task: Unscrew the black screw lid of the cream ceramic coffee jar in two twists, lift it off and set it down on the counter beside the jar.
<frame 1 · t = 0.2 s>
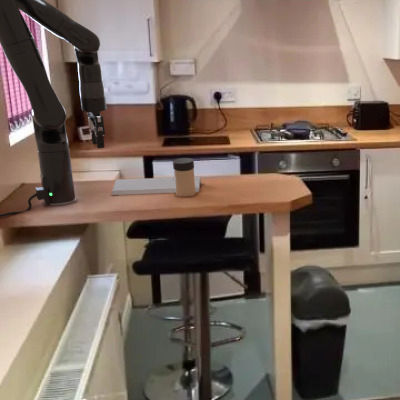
hand: (98, 145, 195), 17 cm above the table, tool pointing down, fingers open, 8 cm apart
coffee jar: (185, 194, 201), on the table, touching crown molding
crown molding: (158, 190, 209), on the table, touching coffee jar
jar lid: (183, 161, 198), point 12 cm above the table, screwed on, not yet turned
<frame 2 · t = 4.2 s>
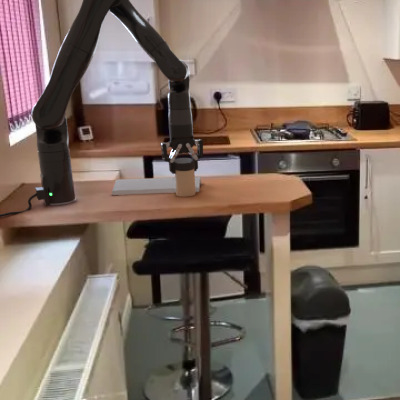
hand: (184, 172, 199), 8 cm above the table, tool pointing down, fingers closed on jar lid, 6 cm apart
jar lid: (184, 161, 198), point 12 cm above the table, screwed on, not yet turned, touching gripper
everything else where it was.
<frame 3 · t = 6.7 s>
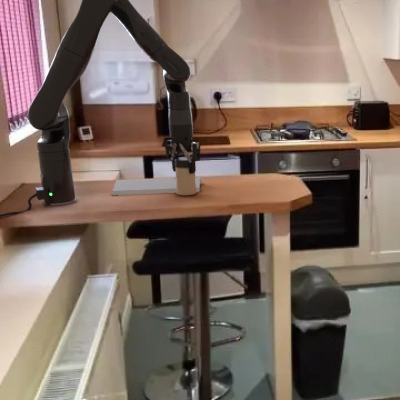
hand: (184, 172, 199), 8 cm above the table, tool pointing down, fingers closed on jar lid, 6 cm apart
coffee jar: (186, 193, 201), point 1 cm above the table, touching crown molding, gripper
jar lid: (184, 159, 199), point 12 cm above the table, turned 119° so far, risen 0.1 cm, still on its thread, touching gripper
everything else where it was.
when the fingers open (8 cm above the table, at t = 7.1 s): jar lid moves 1 cm, point 12 cm above the table.
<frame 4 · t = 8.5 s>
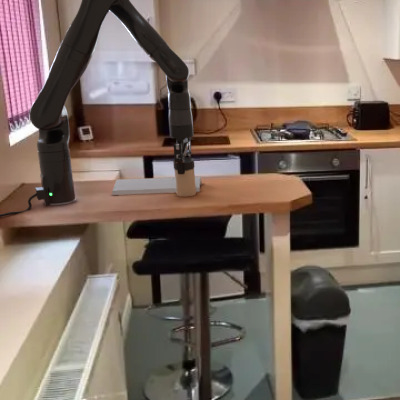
hand: (184, 171, 199), 8 cm above the table, tool pointing down, fingers open, 8 cm apart
coffee jar: (186, 193, 202), on the table, touching crown molding
jar lid: (183, 161, 198), point 12 cm above the table, turned 120° so far, risen 0.1 cm, still on its thread, touching gripper
everything else where it was.
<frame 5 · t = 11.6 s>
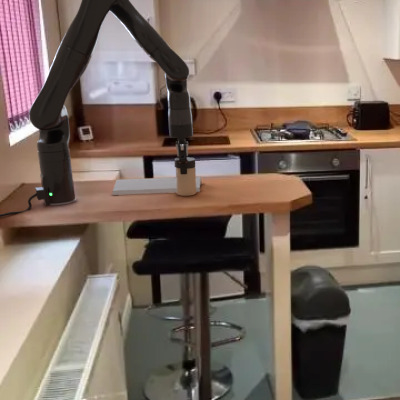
hand: (183, 171, 199), 8 cm above the table, tool pointing down, fingers closed on jar lid, 6 cm apart
coffee jar: (186, 193, 202), on the table, touching crown molding, gripper
jar lid: (184, 160, 199), point 12 cm above the table, off its thread, touching gripper
everything else where it was.
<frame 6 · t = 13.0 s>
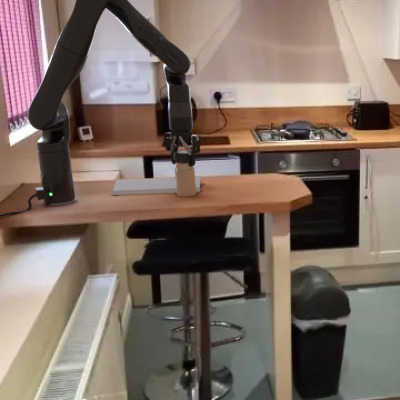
hand: (183, 164, 199), 10 cm above the table, tool pointing down, fingers closed on jar lid, 6 cm apart
coffee jar: (186, 193, 202), on the table, touching crown molding
jar lid: (183, 153, 198), point 14 cm above the table, off its thread, touching gripper
everything else where it was.
when the fingers open (0 cm above the table, at t = 21.3 s): jar lid drops 1 cm, point 2 cm above the table.
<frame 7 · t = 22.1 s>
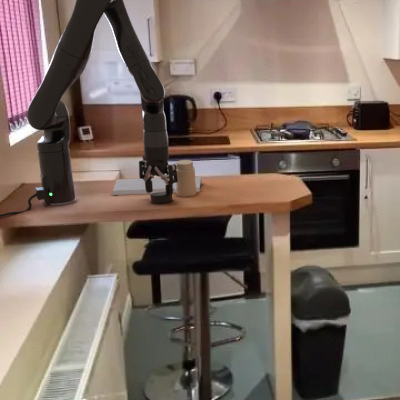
hand: (159, 194, 192), 3 cm above the table, tool pointing down, fingers open, 8 cm apart
coffee jar: (186, 193, 202), on the table, touching crown molding
jar lid: (161, 194, 192), point 2 cm above the table, tilted 5°, off its thread, touching gripper
everything else where it was.
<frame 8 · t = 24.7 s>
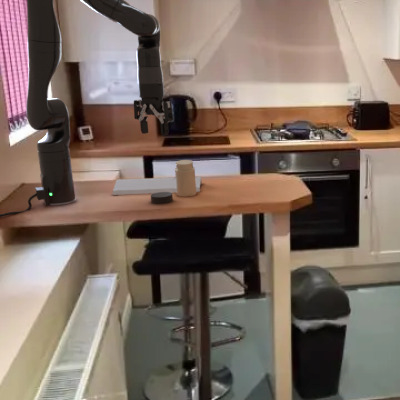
hand: (154, 134, 187), 22 cm above the table, tool pointing down, fingers open, 8 cm apart
jar lid: (161, 195, 192), point 2 cm above the table, off its thread
everything else where it was.
at the end: jar lid inside the target area (0.8 cm from its centre), point 2.1 cm above the table; the gripper is holding nothing; coffee jar tilted 4° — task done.
